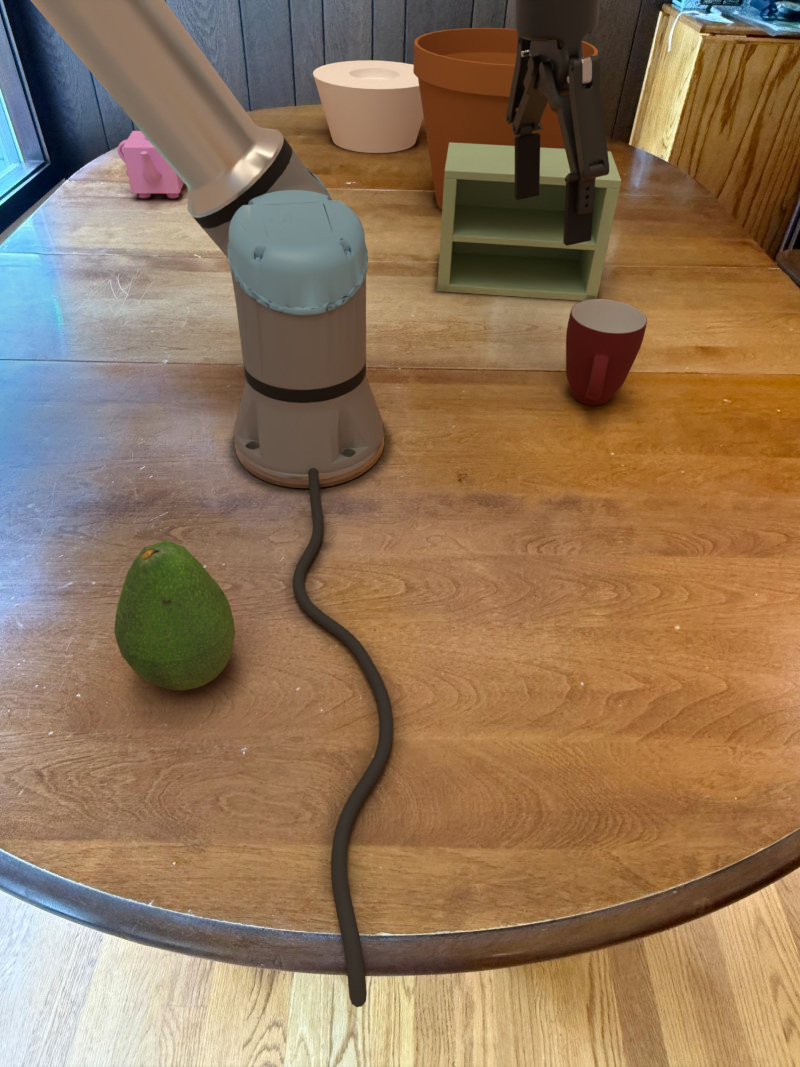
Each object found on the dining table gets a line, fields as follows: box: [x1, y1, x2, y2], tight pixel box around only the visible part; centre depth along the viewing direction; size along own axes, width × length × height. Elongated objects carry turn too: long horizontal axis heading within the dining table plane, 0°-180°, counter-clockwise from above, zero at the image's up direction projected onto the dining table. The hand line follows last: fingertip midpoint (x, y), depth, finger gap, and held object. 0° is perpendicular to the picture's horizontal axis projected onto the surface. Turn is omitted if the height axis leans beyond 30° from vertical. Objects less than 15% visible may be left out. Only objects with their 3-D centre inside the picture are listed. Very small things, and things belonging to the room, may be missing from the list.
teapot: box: [117, 130, 185, 199], centre depth 130 cm, size 18×13×10 cm
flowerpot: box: [413, 27, 599, 210], centre depth 126 cm, size 28×28×24 cm
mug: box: [565, 298, 648, 407], centre depth 84 cm, size 10×8×10 cm
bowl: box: [312, 59, 424, 154], centre depth 156 cm, size 24×24×12 cm
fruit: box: [113, 539, 236, 691], centre depth 54 cm, size 8×8×12 cm
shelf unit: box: [436, 142, 622, 302], centre depth 106 cm, size 12×22×16 cm, turn 85°
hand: (550, 218), depth 84 cm, fingers open, 13 cm apart
